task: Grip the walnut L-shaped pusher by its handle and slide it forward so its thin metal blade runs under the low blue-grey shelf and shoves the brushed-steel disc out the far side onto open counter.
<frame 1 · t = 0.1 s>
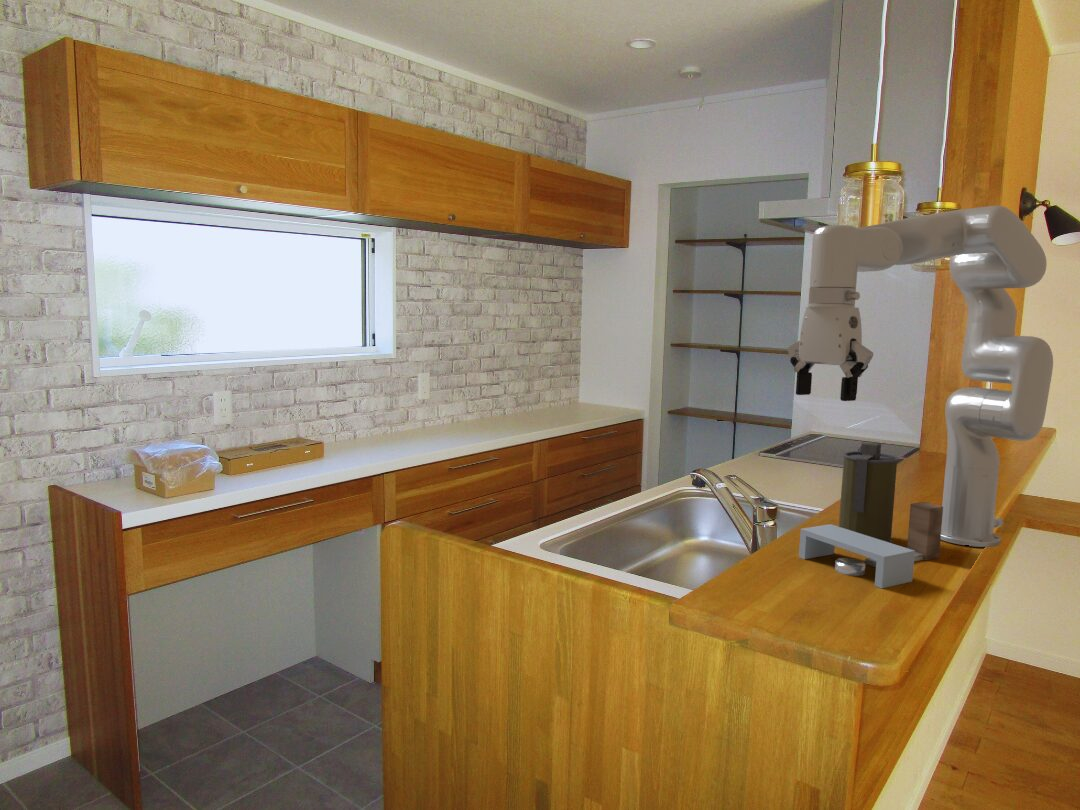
hand: (824, 397, 132), 31 cm above the countertop, fingers open, 9 cm apart
shelf: (853, 568, 136), on the countertop
canister: (863, 539, 155), on the countertop
token: (849, 572, 135), on the countertop
pusher: (922, 555, 145), on the countertop
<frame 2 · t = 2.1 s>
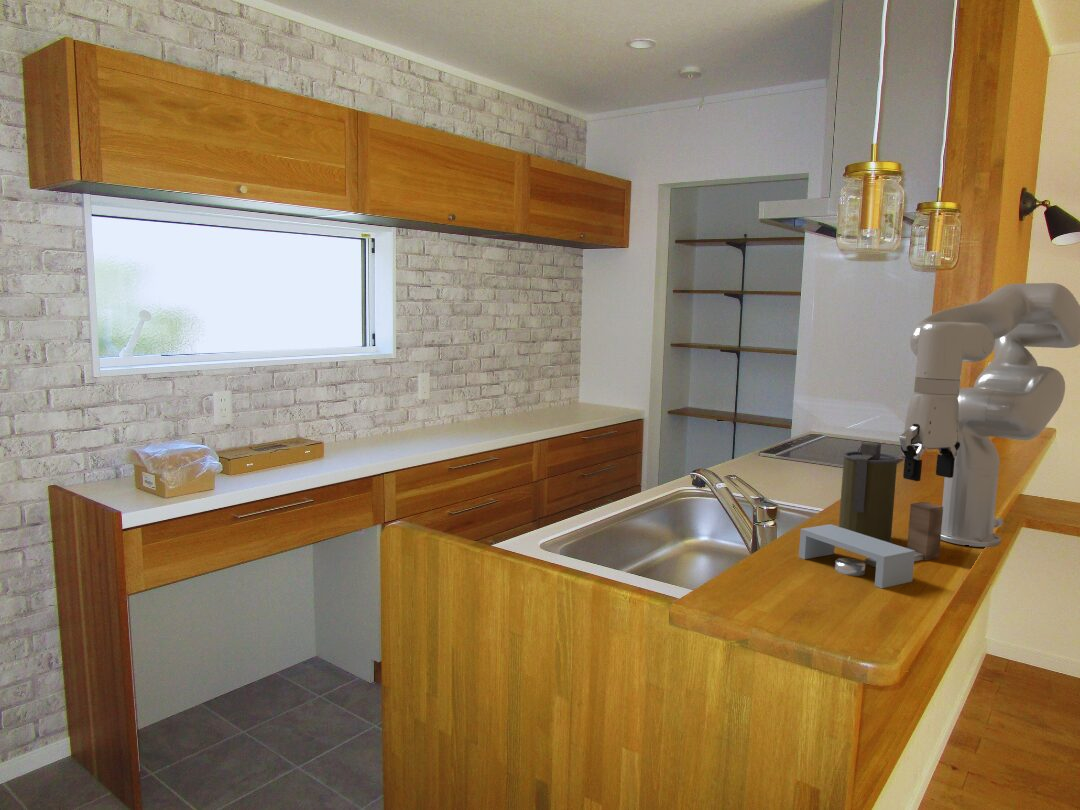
hand: (928, 478, 143), 15 cm above the countertop, fingers open, 9 cm apart
nothing on the countertop moved.
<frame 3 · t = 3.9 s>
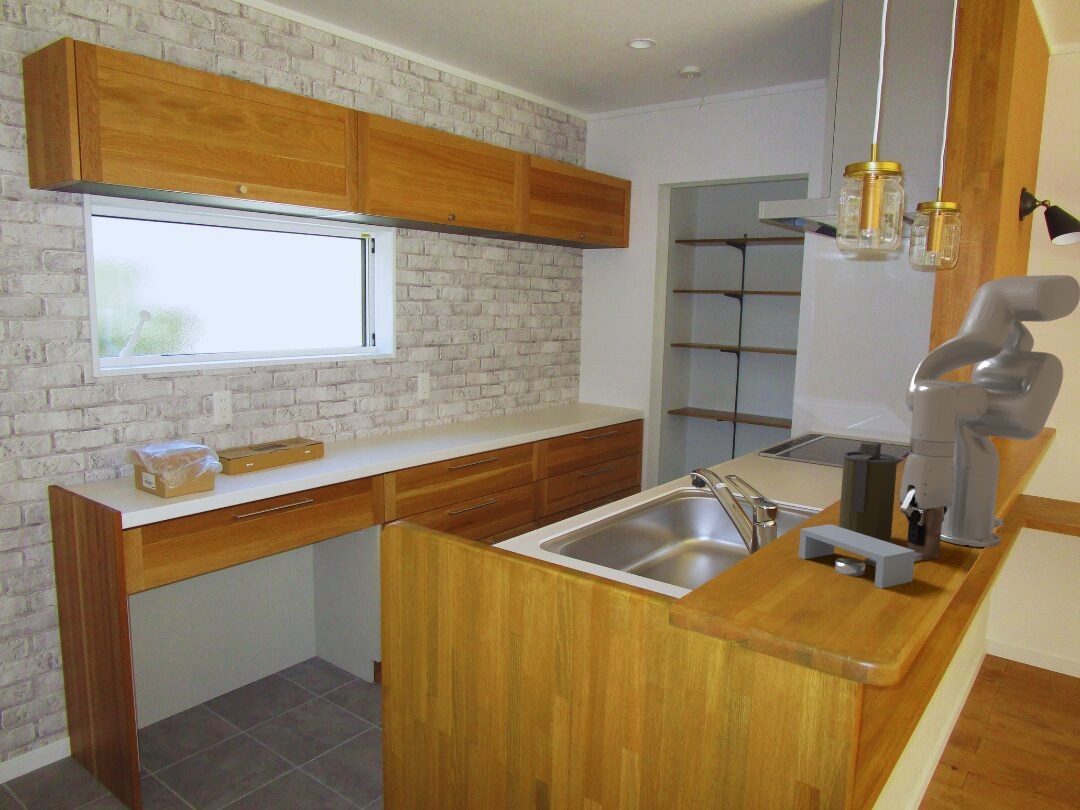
hand: (923, 541, 144), 3 cm above the countertop, fingers closed on pusher, 4 cm apart
pusher: (922, 555, 145), on the countertop, touching gripper
everything else where it was.
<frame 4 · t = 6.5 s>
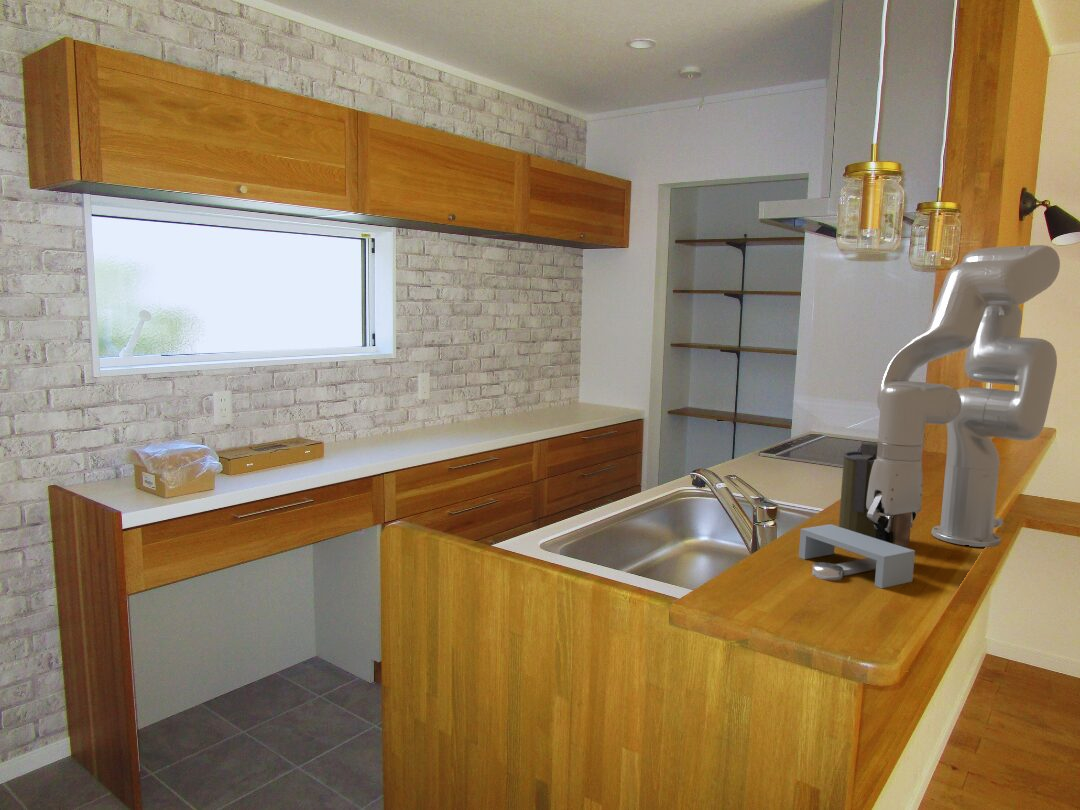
hand: (891, 548, 140), 3 cm above the countertop, fingers closed on pusher, 4 cm apart
token: (827, 576, 132), on the countertop
pusher: (890, 561, 140), on the countertop, touching gripper
everything else where it was.
when the fingers open (3 cm above the countertop, at t = 7.6 s): pusher stays where it is, on the countertop.
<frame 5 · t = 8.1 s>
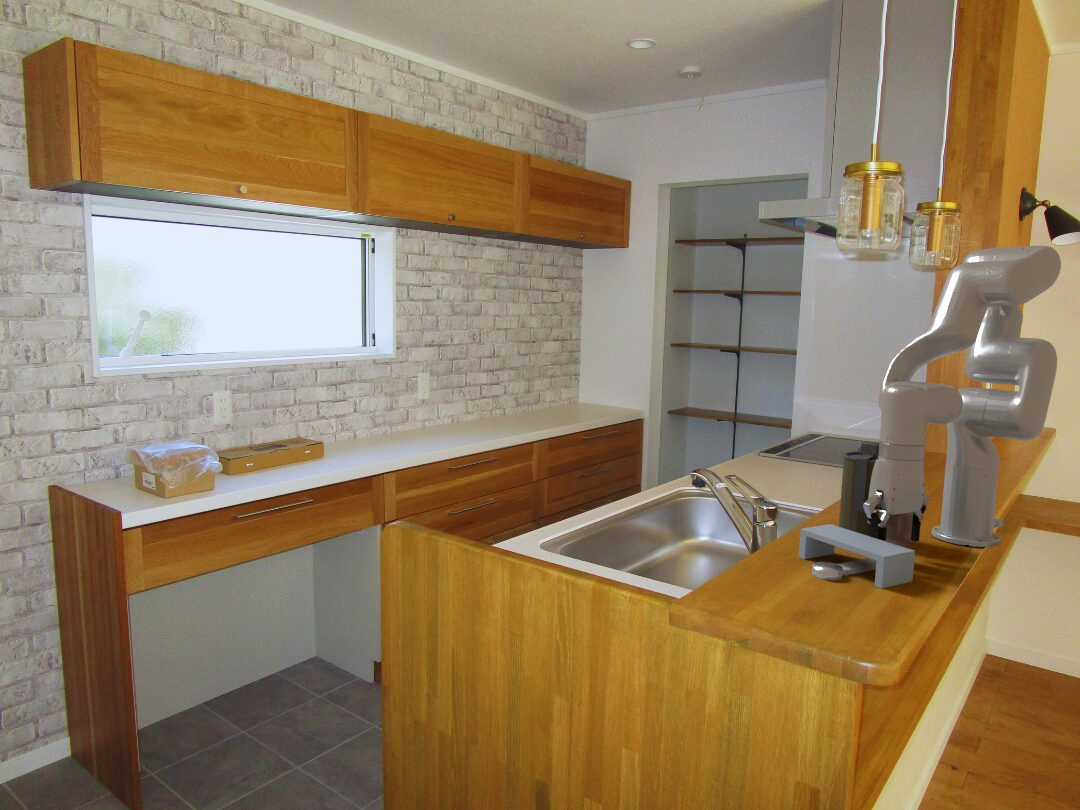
hand: (893, 542, 140), 4 cm above the countertop, fingers open, 9 cm apart
pusher: (892, 562, 140), on the countertop
everything else where it was.
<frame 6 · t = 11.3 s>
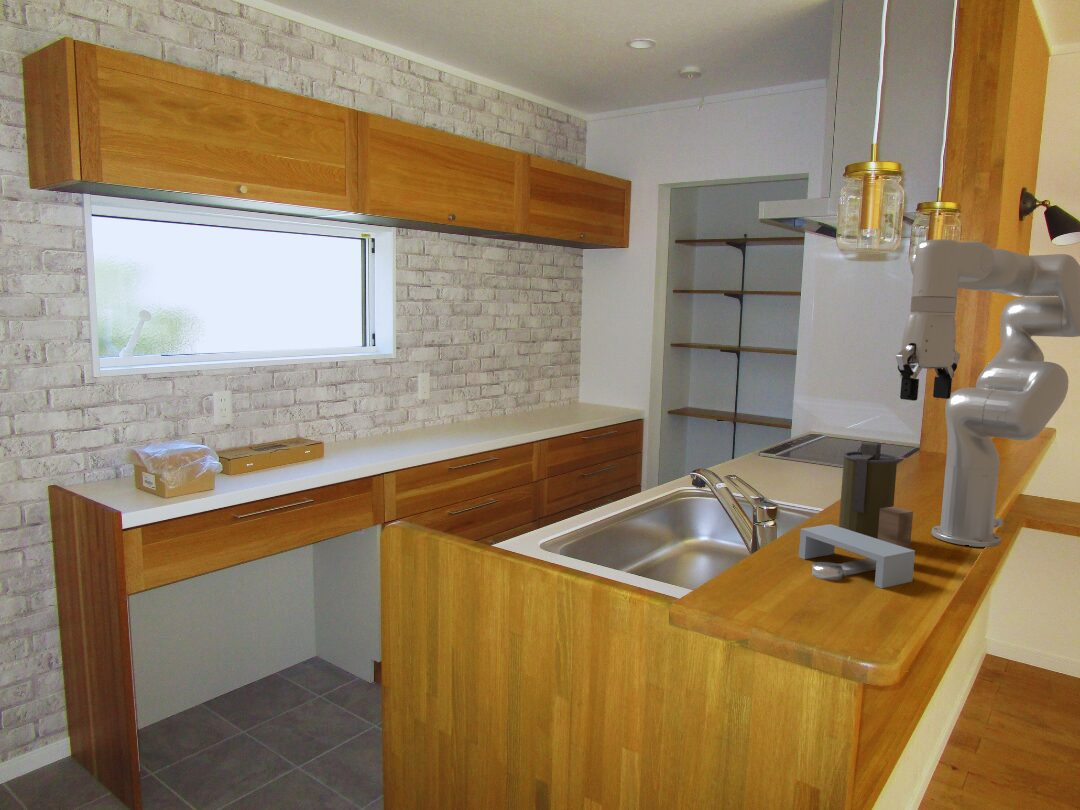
hand: (925, 398, 142), 30 cm above the countertop, fingers open, 9 cm apart
nothing on the countertop moved.
at the end: token inside the target area (4.0 cm from its centre), on the countertop; token moved 5.8 cm from its start; token tilted 2° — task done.
